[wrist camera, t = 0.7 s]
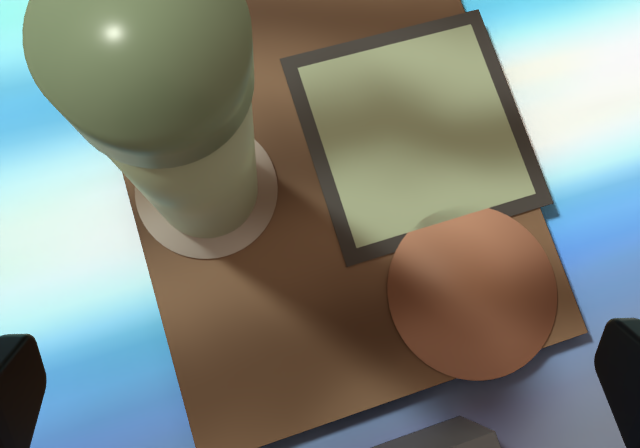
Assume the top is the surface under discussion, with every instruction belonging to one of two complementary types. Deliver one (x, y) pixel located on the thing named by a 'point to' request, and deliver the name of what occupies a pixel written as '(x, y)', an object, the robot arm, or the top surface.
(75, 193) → the top surface
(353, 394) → the picture board
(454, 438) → the button housing
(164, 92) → the ball
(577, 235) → the top surface
